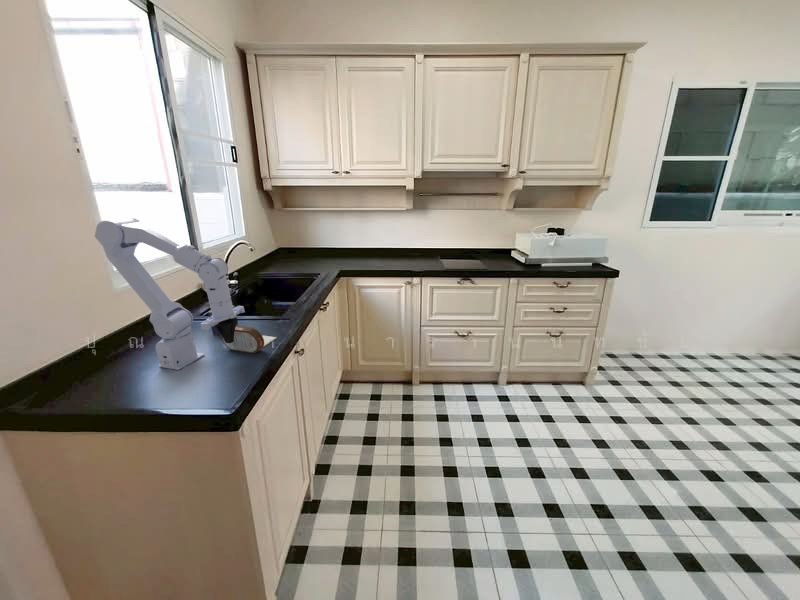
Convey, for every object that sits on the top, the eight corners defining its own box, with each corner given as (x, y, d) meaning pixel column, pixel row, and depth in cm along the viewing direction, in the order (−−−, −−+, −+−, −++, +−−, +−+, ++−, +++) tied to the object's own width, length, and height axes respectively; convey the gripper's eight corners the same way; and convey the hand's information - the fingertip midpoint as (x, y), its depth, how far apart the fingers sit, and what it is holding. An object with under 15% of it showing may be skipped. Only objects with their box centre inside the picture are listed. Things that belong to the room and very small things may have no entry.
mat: (259, 349, 110) (259, 348, 110) (235, 345, 113) (235, 344, 113) (276, 338, 117) (276, 337, 117) (253, 335, 120) (252, 334, 120)
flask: (237, 326, 129) (231, 300, 125) (240, 328, 127) (235, 301, 123) (212, 334, 122) (205, 307, 119) (215, 336, 121) (208, 308, 117)
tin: (266, 351, 109) (262, 327, 106) (260, 355, 106) (255, 331, 103) (229, 346, 113) (224, 323, 110) (222, 350, 110) (216, 326, 107)
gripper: (210, 310, 91) (221, 354, 95) (248, 293, 104) (256, 333, 108) (190, 308, 93) (202, 351, 98) (230, 292, 106) (239, 331, 111)
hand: (229, 342), depth 103 cm, fingers closed
